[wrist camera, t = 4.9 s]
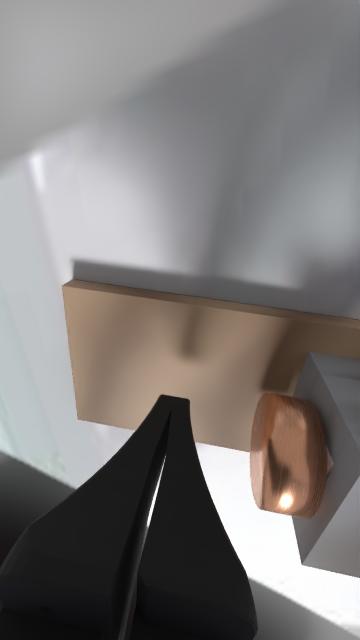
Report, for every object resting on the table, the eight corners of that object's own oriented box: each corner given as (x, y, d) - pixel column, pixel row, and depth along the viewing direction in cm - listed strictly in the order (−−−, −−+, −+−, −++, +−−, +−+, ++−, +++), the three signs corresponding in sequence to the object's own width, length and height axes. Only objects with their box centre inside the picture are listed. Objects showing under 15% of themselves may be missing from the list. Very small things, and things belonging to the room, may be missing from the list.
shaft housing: (498, 339, 12) (769, 492, 6) (402, 467, 16) (506, 631, 10) (72, 279, 14) (-44, 350, 8) (85, 407, 18) (15, 518, 12)
